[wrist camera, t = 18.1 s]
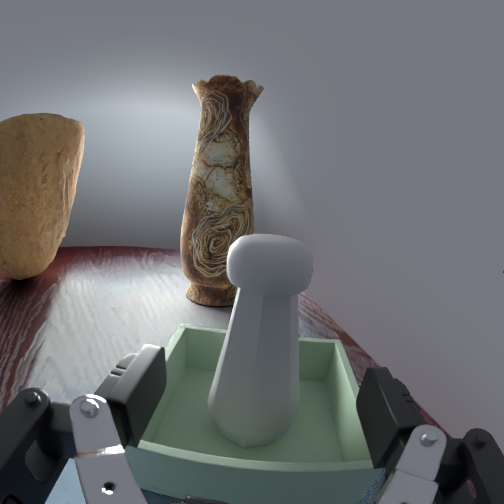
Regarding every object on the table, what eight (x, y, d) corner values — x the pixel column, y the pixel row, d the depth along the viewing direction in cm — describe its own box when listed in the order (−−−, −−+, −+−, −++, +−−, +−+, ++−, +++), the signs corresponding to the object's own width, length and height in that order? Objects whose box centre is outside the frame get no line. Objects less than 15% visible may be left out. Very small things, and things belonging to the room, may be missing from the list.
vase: (217, 316, 36) (238, 67, 29) (163, 291, 42) (177, 82, 35) (263, 295, 44) (283, 92, 37) (211, 277, 50) (225, 98, 43)
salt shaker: (302, 414, 19) (339, 239, 16) (277, 470, 14) (323, 261, 11) (229, 392, 21) (243, 224, 18) (191, 437, 16) (190, 237, 13)
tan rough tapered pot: (105, 266, 49) (110, 127, 44) (37, 317, 28) (34, 102, 22) (21, 255, 48) (22, 137, 42) (-50, 290, 26) (-56, 131, 21)
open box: (181, 369, 24) (180, 323, 23) (328, 384, 24) (340, 339, 23) (129, 485, 12) (110, 439, 11) (355, 507, 11) (387, 465, 10)
